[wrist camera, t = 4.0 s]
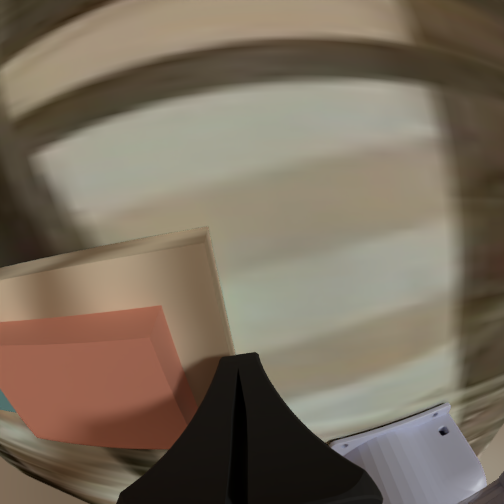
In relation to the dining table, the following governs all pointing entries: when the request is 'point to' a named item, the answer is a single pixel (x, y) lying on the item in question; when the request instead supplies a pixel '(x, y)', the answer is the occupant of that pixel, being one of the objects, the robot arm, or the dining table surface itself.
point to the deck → (133, 293)
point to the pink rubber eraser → (97, 378)
